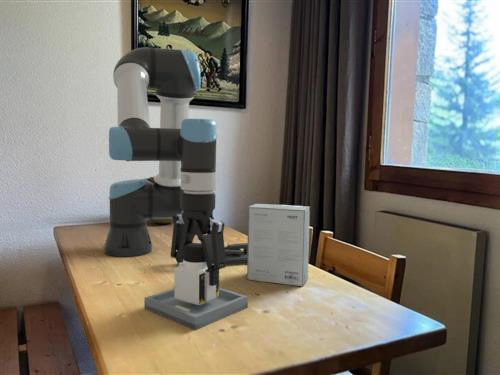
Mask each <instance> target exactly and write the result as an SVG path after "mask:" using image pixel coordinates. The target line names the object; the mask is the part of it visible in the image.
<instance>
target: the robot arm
mask: <svg viewBox="0 0 500 375" xmlns="http://www.w3.org/2000/svg"><path fill="white" fill-rule="evenodd" d="M112 75H113V78H112V79H113V83H114V85H115V87H116V89H117V95H116V96H117V98H116V99H117V101H116V102H117V104H116V105H117V126H112V127H110V128H109V130H108V154H109V155H108V156H109V158H110V159H112V160H114V161H125V162H155V161H156V162H158V174H157V175H155V176H153V177H154V183H152V184H147V181H146V179H144V178H139V179H138V178H134V179H128V180H121V181H117V182H114V183H112V184H111V185H110V186H109V197H108V200H109V229H108V233H107V236H106V239H105V243H104V245H103V246H104V247H103V250H104V251H103V252H104V254H106V255H108V256H112V257H137V256H144V255H147V254H150V253H151V252H152V251H153V242H152V240H151V236H150V233H149V231H148V228H147V226H148V224H147V220H150V219H164V218H173V222H172V224H173V226H172V229H173V230H172V237H171V247H170V257H171V259H173V258H174V259H175V261H176V262H177V263H176V264H177V266H180V265H183V264H184V263H183V247H184V246H185V245H187V244H190V243H194V239H195V236H197V239H198V240H199V241H200V243H201V245H202V249H203V252H204V256H205V260H206V264H207V268H208V269H206V270H205V301H209V300H212V299H214V298H216V285H217V284H218V270H219V271H220V270H222V269H224V268H226V267H227V266H226V259H225V248H224V247H225V240H224V229H225V222H224V221H218V220H216V219H215V218H214V211H215V209H216V193H215V192H214V191H216V189H217V188H216V184H217V181H216V180H217V179H216V178H217V176H216V175H217V174H216V173H217V172H216V170H217V168H216V166H217V139H218V134H217V123H216V121H215V120H213V119H210V118H208V119H207V118H189V111H190V110H189V109H190V102H191V101H192V100H193V99H194V98H195V92H199V91H200V90H201V82H202V81H201V69H200V63H199V59H198V55H197V54H196V53H195V52H193V51H189V50H184V49H172V48H156V47H146V46H144V47H138V48H135V49H132V50H130V51H128V52H127V53H125V54H124V55H122V57H120V58H119V59H118V61H117V63H116V64H115V66H114V69H113V74H112ZM148 89H152V90H155V96H156V97H157V98H158V99H159V100H160V112H159V113H160V115H159V116H160V117H159V118H160V119H159V120H160V121H159V127H151V121H150V120H151V119H150V112H149V103H148V102H149V101H148V93H147V91H148ZM212 263H213V264H214V265H212ZM177 266H176V267H177Z"/></svg>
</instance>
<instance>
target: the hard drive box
mask: <svg viewBox="0 0 500 375" xmlns="http://www.w3.org/2000/svg"><path fill="white" fill-rule="evenodd" d="M310 208H311V206H304V205H289V204H269V203H254V204H252V205H249V206H248V207H247V243H248V249H247V265H246V266H247V268H246V271H247V273H246V279H247V280H249V281H256V282H257V281H258V282H263V283H264V282H265V283H273V284H274V283H275V284H282V285H288V286H298V287H303V286H304V285H305V284H306V282H307V280H308V279H309V249H310V245H309V244H310V217H311V216H310V215H311V213H310Z"/></svg>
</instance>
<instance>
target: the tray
mask: <svg viewBox="0 0 500 375" xmlns="http://www.w3.org/2000/svg"><path fill="white" fill-rule="evenodd" d="M248 301H249V296H247V295H245V294H241V293H238V292H236V291H232V290H229V289H225V288H223V287H219V296H218V297H216V298H214V299H212V300H209V301H207V302H205V303H203V304H201V305H196V304H192V303H189V302H185V301H181V300H177V299H175V298H174V288H171V289H167V290H164V291H162V292H159V293H155V294H153V295H152V294H151V295H148V296H146V297H145V296H144V309H145V310H147V311H149V312H152V313H153V314H156V315H158V316H161V317H163V318H166V319H167V320H170V321H173V322H176V323H178V324H180V325H182V326H184V327H188V328H189V329H193V330H195V331H196V330H198V329H201V328H203V327H205V326H208V325H210V324H213V323H214V322H217V321H219V320H221V319H224V318H226V317H228V316H231V315H233V314H236V313H238V312H241V311H242V310H245V309H247V308H248V307H249V302H248Z"/></svg>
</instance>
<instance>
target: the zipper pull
mask: <svg viewBox="0 0 500 375" xmlns="http://www.w3.org/2000/svg"><path fill="white" fill-rule="evenodd" d="M224 248H225V259H226V267H230V266H232V267H234V266H247V249H248V242H245V243H244V242H242V243H241V242H240V243H231V244H227V245H226V246H224ZM212 264H213V263H212Z"/></svg>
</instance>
